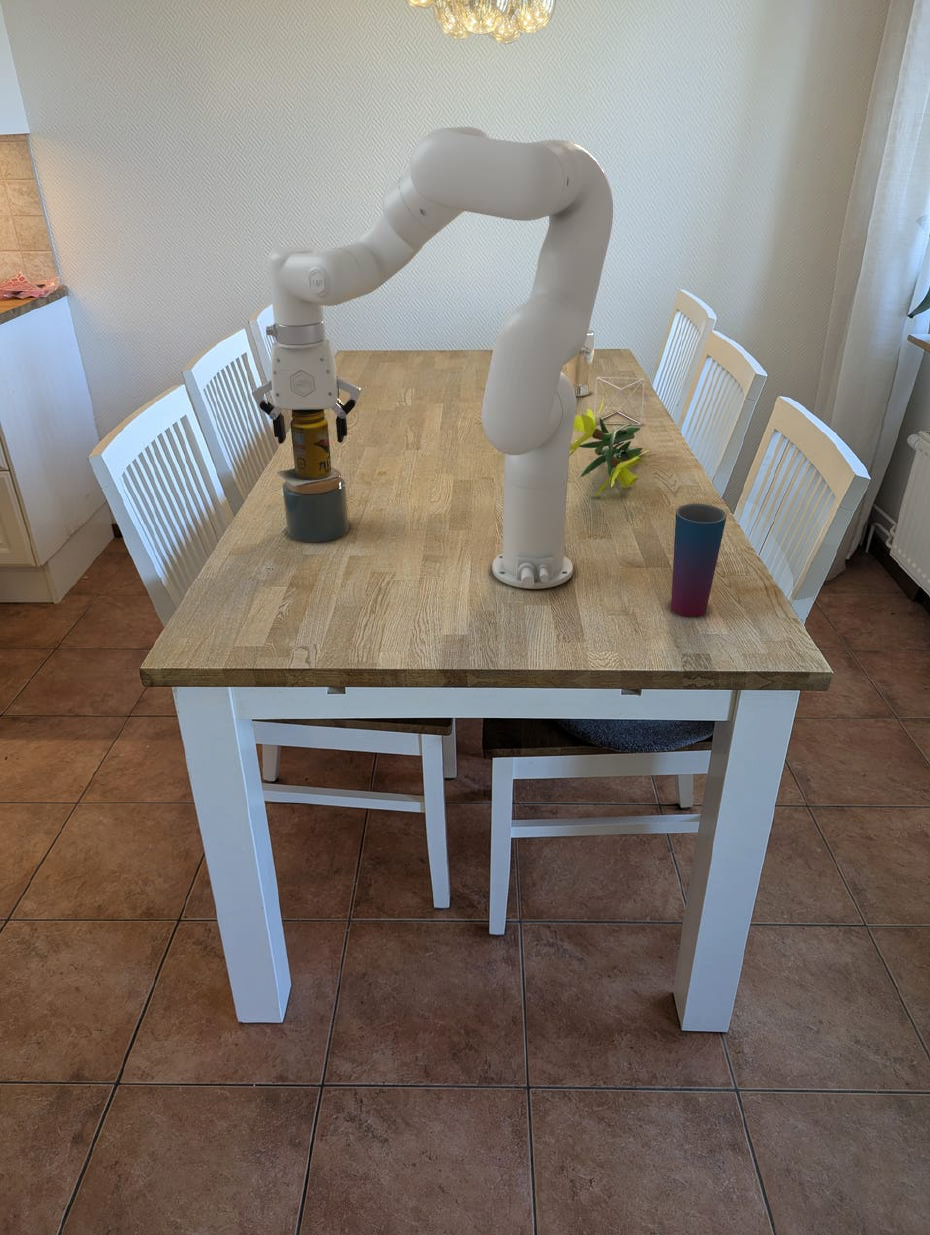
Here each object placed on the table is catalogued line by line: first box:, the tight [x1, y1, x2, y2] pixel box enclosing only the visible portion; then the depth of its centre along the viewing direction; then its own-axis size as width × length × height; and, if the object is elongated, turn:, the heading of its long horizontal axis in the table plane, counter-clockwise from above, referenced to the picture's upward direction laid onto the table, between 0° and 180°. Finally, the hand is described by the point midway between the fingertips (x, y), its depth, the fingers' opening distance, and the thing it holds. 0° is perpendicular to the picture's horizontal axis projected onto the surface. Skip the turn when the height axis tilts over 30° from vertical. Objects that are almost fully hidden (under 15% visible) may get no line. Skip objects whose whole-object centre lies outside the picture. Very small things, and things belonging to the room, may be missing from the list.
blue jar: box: [282, 466, 349, 544], centre depth 155 cm, size 10×10×10 cm
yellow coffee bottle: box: [275, 409, 342, 486], centre depth 150 cm, size 7×8×12 cm
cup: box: [670, 503, 728, 618], centre depth 129 cm, size 7×7×15 cm
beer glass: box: [565, 329, 595, 397], centre depth 226 cm, size 7×7×15 cm
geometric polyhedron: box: [593, 376, 646, 426], centre depth 208 cm, size 12×11×9 cm
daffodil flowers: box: [570, 397, 654, 498], centre depth 174 cm, size 17×15×35 cm
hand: (311, 440), depth 150 cm, fingers open, 9 cm apart
